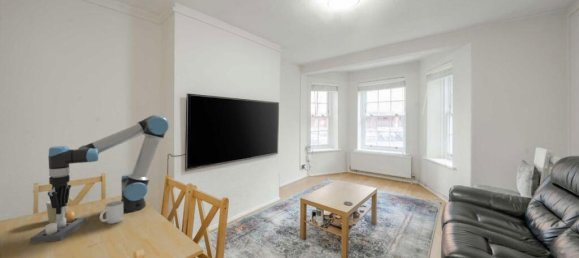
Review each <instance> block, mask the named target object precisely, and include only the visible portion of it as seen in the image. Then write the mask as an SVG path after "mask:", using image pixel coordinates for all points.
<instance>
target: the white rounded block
mask: <svg viewBox="0 0 579 258" xmlns="http://www.w3.org/2000/svg"><path fill="white" fill-rule="evenodd" d="M44 228H45V230H46V236H47V235H54V234H56V233H57V223H48V224H45V227H44Z"/></svg>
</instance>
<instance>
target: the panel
mask: <svg viewBox="0 0 579 258" xmlns="http://www.w3.org/2000/svg"><path fill="white" fill-rule="evenodd" d="M85 223H87V217H75V221H74V222H71V223H66V227H65V228H63V229H57V233H56V234H54V235H47V236H46V230H45V229H42V230H41V231H40V232H37V233H36V234H34V235H33V236H31V237H30V243H31V244H32V243H43V242H53V241H55V242H56V241H62V240H63V239H64V238H65V237H67V236H69V235H70V234H72V233H73V232H74V231H76V230H77V229H78V228H79V227H81V226H82V225H84V224H85Z"/></svg>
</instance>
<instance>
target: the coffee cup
mask: <svg viewBox="0 0 579 258" xmlns="http://www.w3.org/2000/svg"><path fill="white" fill-rule="evenodd" d="M45 206H46V210H47V218H48V224H50V223H56V220H57V219H56V208H52V205H51V201H50V200H48V201H47V202H46V205H45ZM69 208H70V199H68V203H67V206H65V213H67V212H69Z"/></svg>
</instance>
